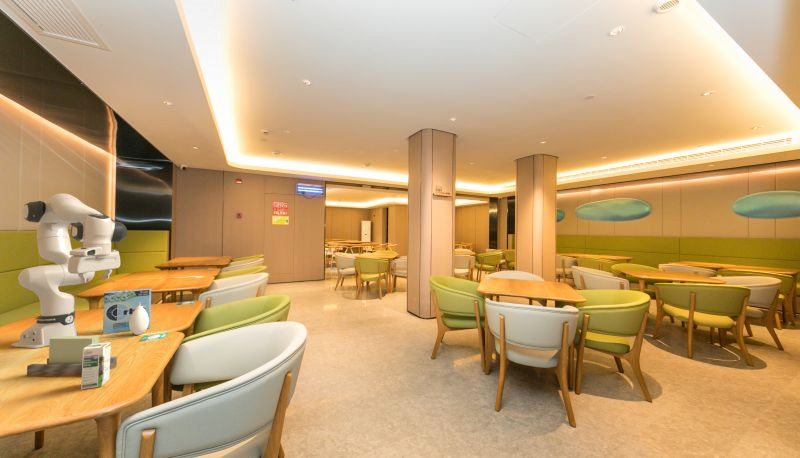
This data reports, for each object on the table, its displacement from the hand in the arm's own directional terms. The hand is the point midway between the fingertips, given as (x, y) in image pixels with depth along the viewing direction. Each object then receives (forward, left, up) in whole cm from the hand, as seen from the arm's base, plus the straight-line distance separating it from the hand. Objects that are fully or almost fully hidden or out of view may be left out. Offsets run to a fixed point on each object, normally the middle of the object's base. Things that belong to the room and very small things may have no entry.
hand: (95, 280), depth 130 cm
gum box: (-16, +36, -34) cm, 52 cm away
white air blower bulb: (-4, +29, -34) cm, 45 cm away
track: (+6, -14, -34) cm, 37 cm away
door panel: (+6, -14, -33) cm, 36 cm away
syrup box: (+25, -25, -34) cm, 49 cm away
